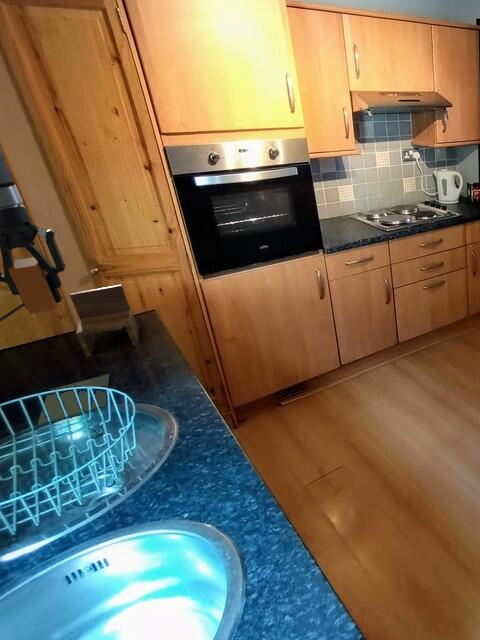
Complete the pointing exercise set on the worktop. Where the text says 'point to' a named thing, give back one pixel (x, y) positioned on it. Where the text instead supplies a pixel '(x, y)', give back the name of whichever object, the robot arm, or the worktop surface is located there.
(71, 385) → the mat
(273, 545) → the worktop surface
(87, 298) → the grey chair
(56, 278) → the robot arm
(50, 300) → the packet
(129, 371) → the worktop surface
